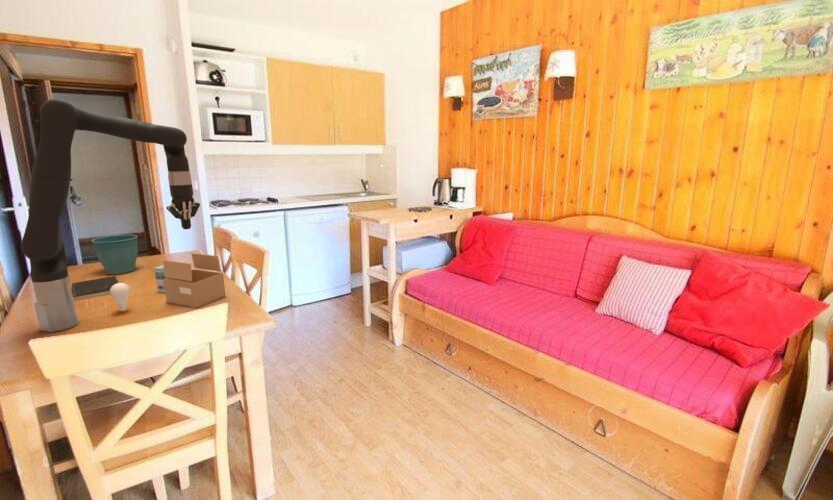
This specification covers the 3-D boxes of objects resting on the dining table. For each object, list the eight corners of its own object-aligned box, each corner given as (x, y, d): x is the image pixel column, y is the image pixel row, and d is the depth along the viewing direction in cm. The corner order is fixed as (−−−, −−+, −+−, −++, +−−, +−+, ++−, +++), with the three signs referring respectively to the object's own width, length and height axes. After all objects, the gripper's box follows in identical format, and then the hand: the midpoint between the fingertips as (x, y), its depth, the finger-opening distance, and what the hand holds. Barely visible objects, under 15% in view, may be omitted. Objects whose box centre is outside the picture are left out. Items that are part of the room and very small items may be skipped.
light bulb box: (170, 293, 171) (167, 268, 169) (157, 292, 173) (153, 268, 170) (189, 285, 182) (186, 262, 179) (176, 284, 183) (172, 261, 180)
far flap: (217, 256, 162) (218, 256, 163) (191, 253, 168) (192, 252, 168) (220, 271, 165) (221, 271, 165) (194, 267, 170) (195, 267, 170)
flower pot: (104, 268, 208) (98, 236, 204) (146, 264, 215) (140, 233, 211) (93, 278, 192) (86, 243, 188) (138, 274, 199) (132, 240, 195)
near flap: (192, 280, 153) (191, 281, 152) (165, 276, 158) (164, 276, 158) (191, 263, 152) (190, 264, 151) (164, 260, 157) (163, 260, 157)
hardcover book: (116, 280, 191) (115, 275, 190) (121, 293, 173) (120, 288, 173) (72, 288, 181) (71, 283, 180) (73, 302, 163) (72, 296, 163)
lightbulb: (130, 306, 157) (125, 279, 154) (136, 310, 153) (131, 282, 150) (111, 311, 152) (106, 283, 149) (116, 315, 148) (111, 287, 146)
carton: (196, 308, 155) (192, 283, 152) (166, 302, 161) (162, 278, 158) (225, 296, 167) (222, 273, 165) (197, 291, 173) (194, 269, 171)
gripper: (171, 185, 146) (178, 232, 150) (202, 182, 157) (208, 226, 162) (156, 184, 148) (164, 231, 152) (189, 182, 160) (194, 225, 164)
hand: (186, 228), depth 157 cm, fingers closed
